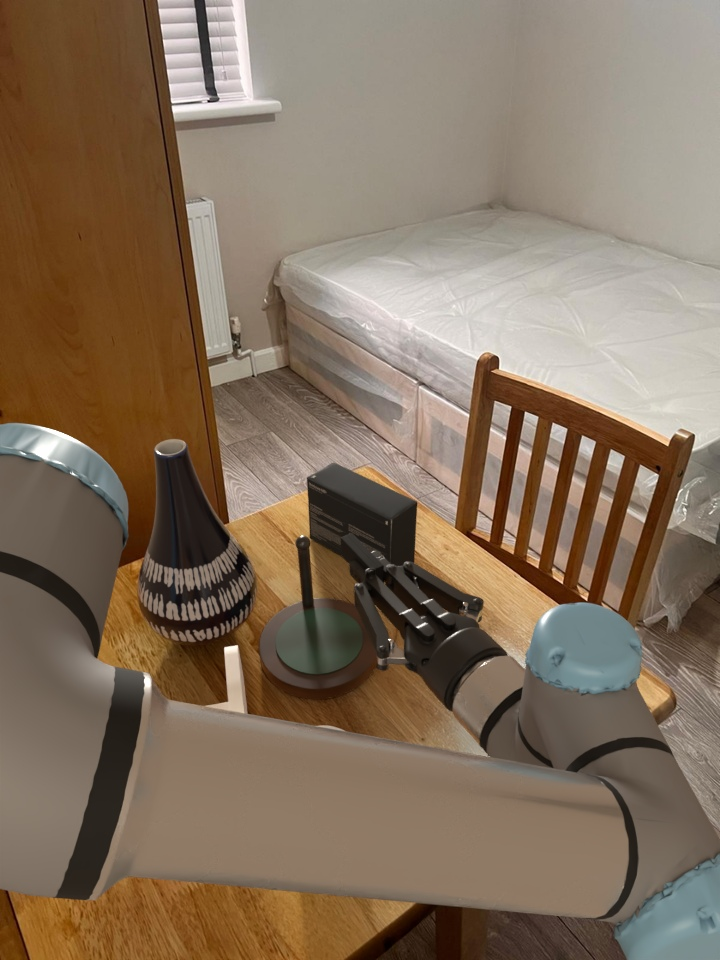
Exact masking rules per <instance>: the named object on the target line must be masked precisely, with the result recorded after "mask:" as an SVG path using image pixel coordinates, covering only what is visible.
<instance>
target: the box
mask: <svg viewBox="0 0 720 960" xmlns="http://www.w3.org/2000/svg"><path fill="white" fill-rule="evenodd" d="M306 483H307V485H306V486H307V502H308V503H307V505H308V524H309V525H308V526H309V539H310V540H312V541H314V542H316V543H317V544H319V545H320V546H323V547H324V548H327V549H328V550H330V551H332V552H333V553H335V554H336V555H338V556H340V557H342V556H341V537H343V536H346V535H348V534H351V533H352V534H353V535H354V536H355V537H356V538H357V539H358V540H359V541H360V542H361V543H362V544H363V545H364V546H365V547H366V548H367V549H368V550H369V551H370V552H373V551H378V552H380V553H381V554H382V555H383V556H384V558H386V559H387V560H388V561H389V562H390V563H391V564H394V565H396V566H403V564H404V563H405V562H407V561H411V562H413V563H415V556H416V553H415V552H416V535H417V517H418V516H417V515H418V501H417V500H415V499H413V498H410V497H408V496H406V495H404V494H402V493H400V492H397V491H395V490H393V489H391V488H389V487H387V486H385V485H383V484H381V483H379V482H377V481H375V480H372V479H370V478H368V477H366V476H364V475H362V474H359V473H357V472H356V471H353V470H351V469H349V468H347V467H345V466H343V465H341V464H338V463H336V462H333V461H332V462H331V463H330V464H328V465H326V466H325V467H322V468H321V469H319V470H318V471H316V472H314V473H311V474H310V475H308V476H306Z"/></svg>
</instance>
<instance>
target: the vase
mask: <svg viewBox="0 0 720 960" xmlns="http://www.w3.org/2000/svg"><path fill="white" fill-rule="evenodd" d="M153 457H154V468H155V469H154V470H155V509H154V519H153V523H152V529H151V534H150V537H149V541H148V544H147V547H146V551H145V554H144V556H143V559H142V562H141V566H140V569H139V573H138V577H137V584H136V585H137V586H136V594H137V600H138V601H137V602H138V607H139V610H140V612H141V614H142V617H143V619H144V621H145V622H146V623H147V625H148V626H149V627H150V629H151V630H153V631H154V633H156V634H157V635H159V636H160V637H161V638H163V639H164V640H167V641H169V642H171V643H174V644H178V645H181V646H189V647H196V646H197V647H198V646H207V645H211V644H215V643H217V642H220V641H223V640H224V639H226V638H228V637H230V636H231V635H234V633H235V632H237V631H238V630H239V629H240V628H241V627H242V626H243V625H244V624H245V623H246V622H247V620H248V619H249V617H250V615H251V614H252V612H253V610H254V607H255V605H256V602H257V598H258V592H259V584H258V583H259V582H258V576H257V572H256V568H255V566H254V563H253V561H252V558H251V557H250V555H249V553H248V552H247V550H246V549H245V547H243V545H242V544H241V542H240V541H239V540H238V539H237V538H236V536H234V535H233V533H232V532H231V531H230V530H229V529H228V527H227V526H226V525H225V524H224V522H223V521H222V520H221V518H220V517H219V516H218V514H217V513H216V511H215V509H214V508H213V506H212V505H211V503H210V501H209V499H208V496H207V494H206V492H205V491H204V488H203V486H202V483H201V481H200V479H199V477H198V474H197V471H196V468H195V466H194V463H193V460H192V457H191V454H190V450H189V445H188V444H187V442H185V440H182V439H179V438H171V439H165V440H162V441H160V442H159V443H157V444H156V445H155V446H154V448H153Z"/></svg>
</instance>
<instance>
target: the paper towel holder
mask: <svg viewBox="0 0 720 960" xmlns="http://www.w3.org/2000/svg"><path fill="white" fill-rule="evenodd" d="M294 544H295V547H296V551H297V561H298V571H299V583H300V584H299V585H300V594H301V600H300V601H298V602H294V603H292V604H290V605H287V606H285V607H284V608H282V609H281V610H279V611H278V612H276V613H275V614H274V615H273V616H272V617H271V618H270V619H269V621H268V622H266V624H265V625H264V627H263V629H262V630H261V631H262V632H261V633H260V636H259V641H258V652H259V660H260V665H261V668H262V670H263V673H264V674H265V677H266V678H267V679H268V680H269V681H270V683H272V684H273V685H274V686H275V687H276V688H278V689H279V690H281V691H282V692H284V693H286V694H289V695H291V696H294V697H296V698H297V697H298V698H301V699H307V700H324V699H332V698H336V697H340V696H343V695H345V694H347V693H350V692H352V691H353V690H355V689H357V688H358V687H360V686H361V685H363V684H364V683H365V682H366V681H367V680H368V679H369V678H370V676H371V675H372V674H373V673H374V671H375V669H376V668H377V666H376V650H375V648H374V646H373V644H372V641H371V639H370V637H369V635H368V633H367V631H366V628H365V626H364V624H363V622H362V620H361V618H360V615H359V613H358V611H357V609H356V607H355V604H354V603H351V602H349V601H346V600H341V599H338V598H331V597H317V598H314V589H313V576H312V563H311V552H310V551H311V549H310V546H311V539H310V537H308V536H306V535H300V536H298V537H297V538H296V539H295V543H294Z"/></svg>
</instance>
